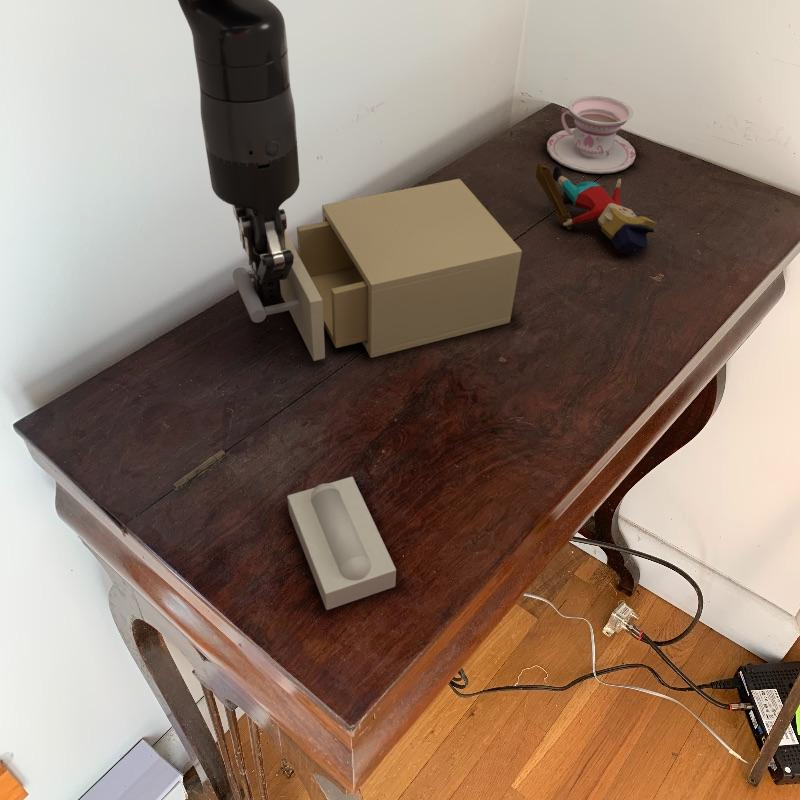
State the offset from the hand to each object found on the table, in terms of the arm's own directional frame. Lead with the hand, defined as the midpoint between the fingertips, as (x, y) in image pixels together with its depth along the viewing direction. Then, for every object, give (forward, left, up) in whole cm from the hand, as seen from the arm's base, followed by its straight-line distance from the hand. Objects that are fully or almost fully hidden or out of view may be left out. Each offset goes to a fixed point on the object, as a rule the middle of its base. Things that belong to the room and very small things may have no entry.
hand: (269, 301), depth 79 cm
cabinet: (+16, 0, -4) cm, 16 cm away
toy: (+41, +5, -4) cm, 41 cm away
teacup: (+51, +21, -4) cm, 55 cm away
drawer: (+7, 0, -3) cm, 8 cm away
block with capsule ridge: (-2, -27, -4) cm, 27 cm away
